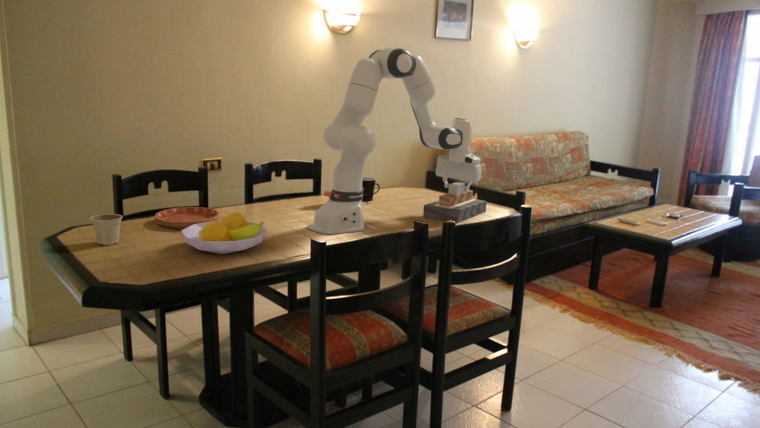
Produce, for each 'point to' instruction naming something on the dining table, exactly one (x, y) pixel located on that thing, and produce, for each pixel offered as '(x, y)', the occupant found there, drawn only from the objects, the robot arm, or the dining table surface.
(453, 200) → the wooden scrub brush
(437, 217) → the block
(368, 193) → the coffee mug
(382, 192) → the dining table surface
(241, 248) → the fruit bowl
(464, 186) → the crate
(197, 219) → the saucer
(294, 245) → the dining table surface
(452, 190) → the block
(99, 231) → the flower pot
